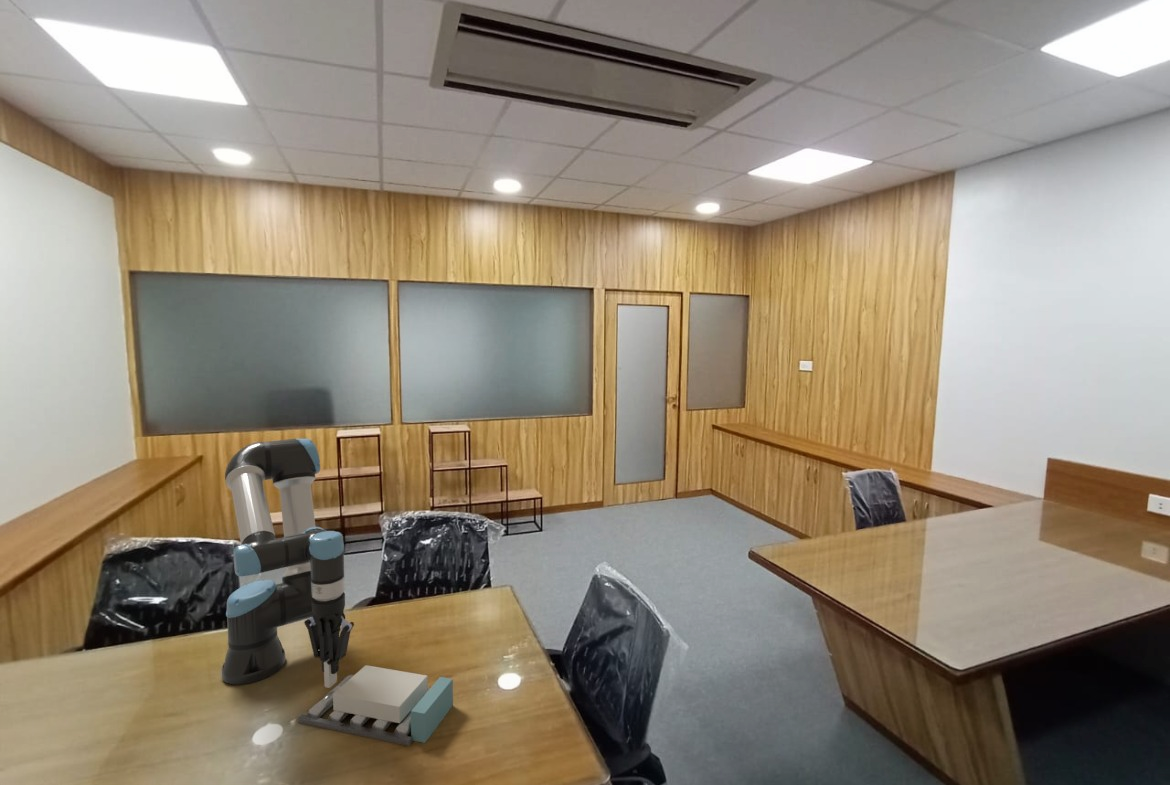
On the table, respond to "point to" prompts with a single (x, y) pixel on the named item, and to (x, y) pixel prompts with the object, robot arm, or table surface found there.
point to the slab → (380, 693)
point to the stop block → (431, 709)
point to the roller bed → (355, 721)
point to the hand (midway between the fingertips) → (330, 684)
